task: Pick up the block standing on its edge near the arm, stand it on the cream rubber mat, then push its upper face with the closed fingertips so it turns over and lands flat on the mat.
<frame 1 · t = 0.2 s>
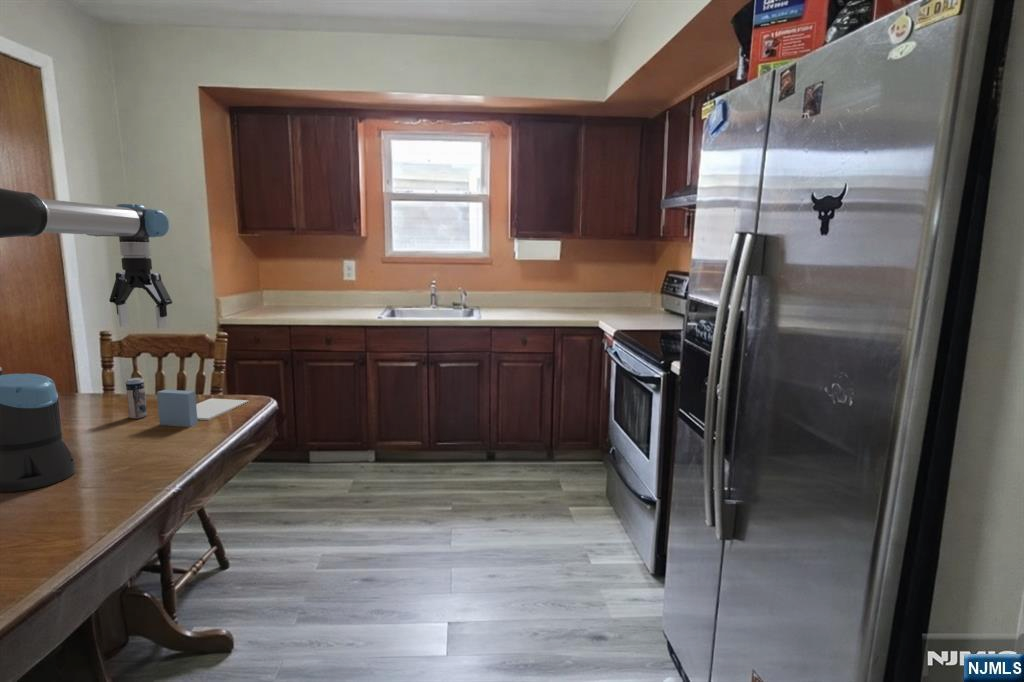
hand: (143, 326, 170), 27 cm above the table, fingers open, 13 cm apart
mat: (210, 409, 178), on the table
block: (178, 424, 164), on the table
beer can: (138, 417, 170), on the table
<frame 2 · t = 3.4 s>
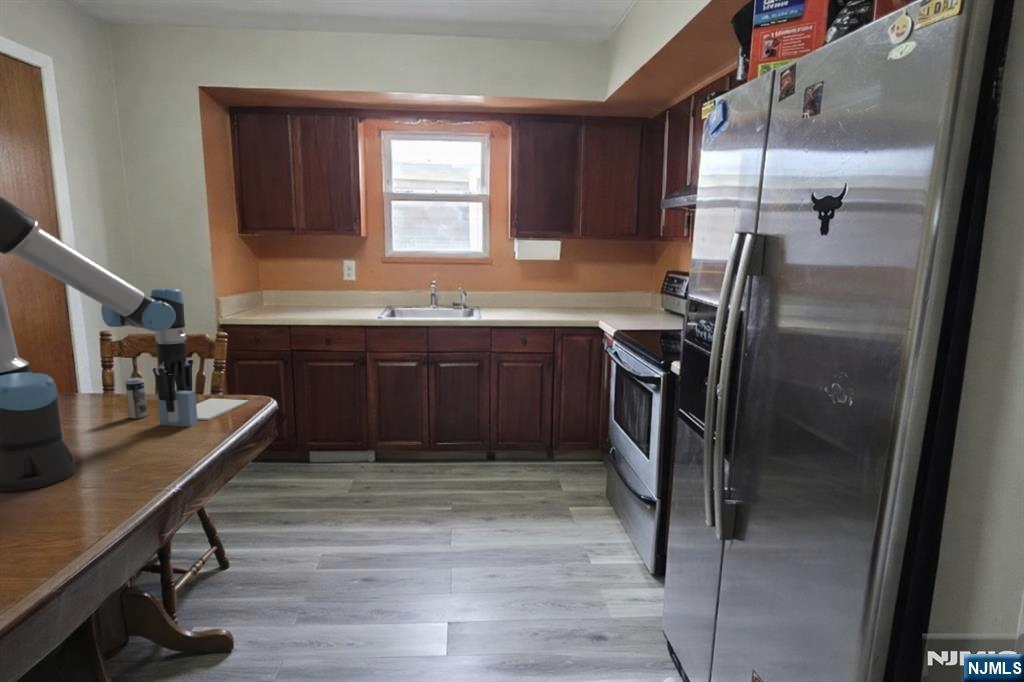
hand: (178, 419, 163), 1 cm above the table, fingers closed on block, 3 cm apart
block: (179, 424, 164), on the table, touching gripper
everything else where it was.
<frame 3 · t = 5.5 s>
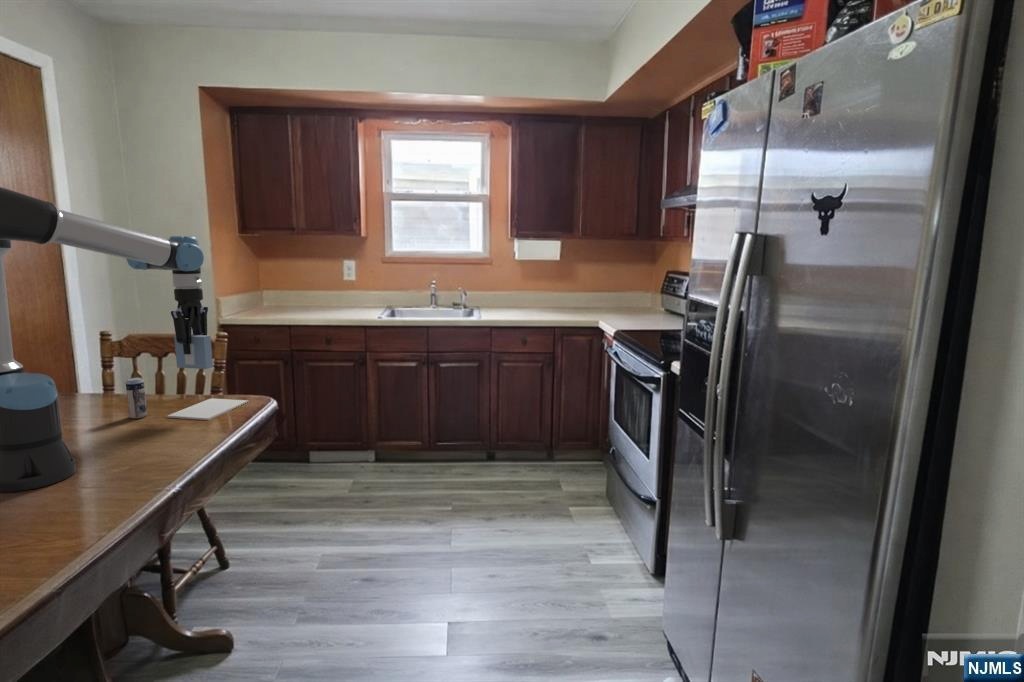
hand: (194, 362, 172), 16 cm above the table, fingers closed on block, 3 cm apart
block: (195, 367, 172), point 15 cm above the table, touching gripper
everything else where it was.
when the fingers open (5 cm above the table, at t = 7.7 s): block drops 3 cm, resting on mat.
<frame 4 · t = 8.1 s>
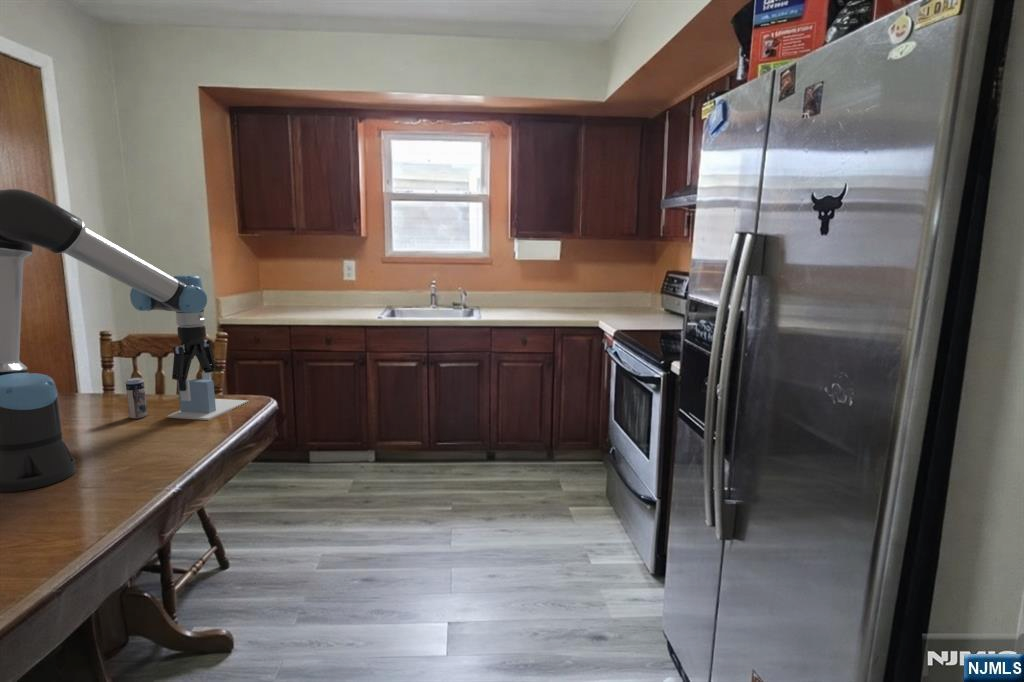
hand: (197, 396, 174), 6 cm above the table, fingers open, 9 cm apart
block: (198, 411, 174), point 1 cm above the table, touching mat
everything else where it was.
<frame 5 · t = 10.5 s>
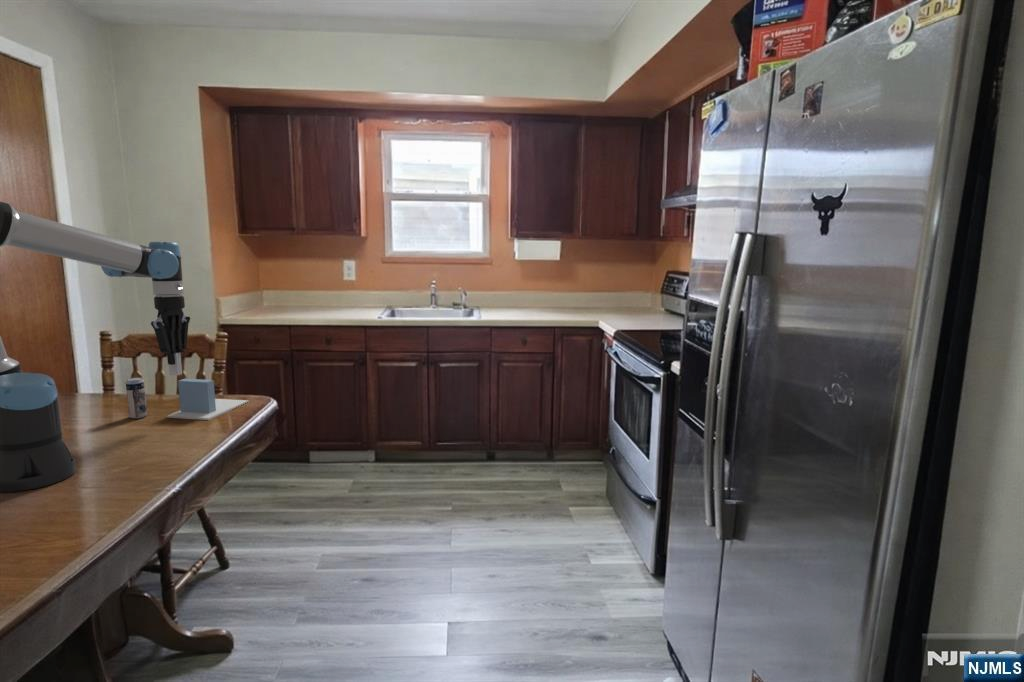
hand: (176, 374, 164), 14 cm above the table, fingers closed
nothing on the table moved.
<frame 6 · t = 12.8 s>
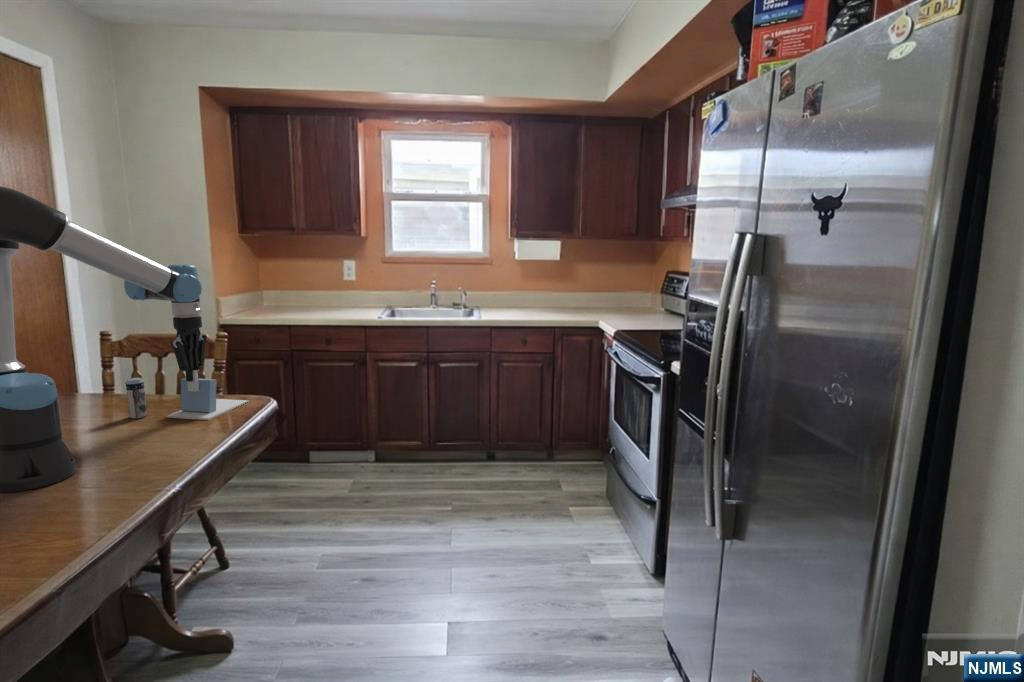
hand: (193, 390, 172), 8 cm above the table, fingers closed
block: (198, 410, 174), point 1 cm above the table, tilted 8°, touching mat
everything else where it was.
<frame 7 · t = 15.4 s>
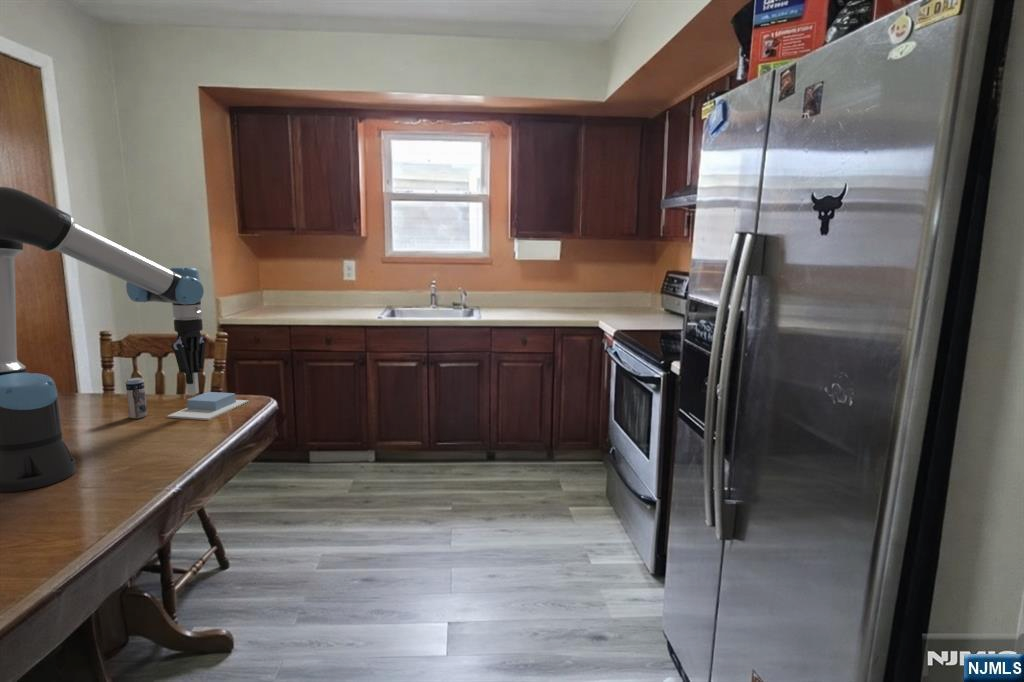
hand: (193, 393, 172), 7 cm above the table, fingers closed
block: (201, 405, 176), point 2 cm above the table, tilted 90°, touching mat
everything else where it was.
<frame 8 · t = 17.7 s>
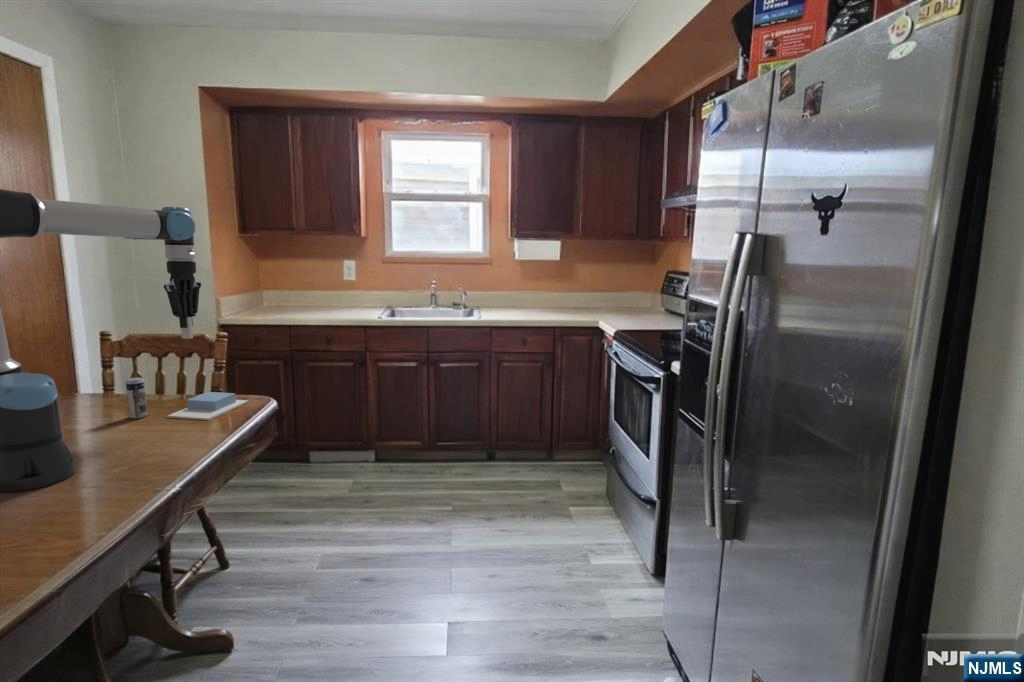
hand: (187, 338, 168), 24 cm above the table, fingers closed
nothing on the table moved.
at the end: block tilted 90°; block inside the target area (4.5 cm from its centre), point 2.1 cm above the table; the gripper is holding nothing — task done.
